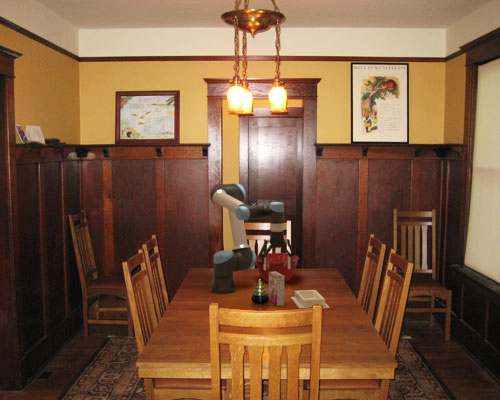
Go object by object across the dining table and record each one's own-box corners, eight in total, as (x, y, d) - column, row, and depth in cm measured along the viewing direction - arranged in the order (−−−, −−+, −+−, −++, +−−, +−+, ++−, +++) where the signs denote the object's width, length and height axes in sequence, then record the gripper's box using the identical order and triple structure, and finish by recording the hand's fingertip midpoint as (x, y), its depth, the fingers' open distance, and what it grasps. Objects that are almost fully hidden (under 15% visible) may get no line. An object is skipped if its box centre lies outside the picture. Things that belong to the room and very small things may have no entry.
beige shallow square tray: (300, 309, 246) (300, 301, 246) (290, 297, 266) (290, 290, 265) (329, 308, 249) (329, 299, 248) (317, 296, 269) (317, 288, 268)
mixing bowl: (248, 284, 292) (248, 260, 290) (261, 273, 319) (261, 251, 317) (292, 288, 283) (292, 264, 281) (302, 276, 310) (302, 254, 308)
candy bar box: (268, 300, 261) (268, 271, 260) (276, 299, 263) (276, 271, 262) (276, 306, 251) (276, 276, 249) (284, 305, 253) (285, 276, 251)
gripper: (255, 232, 247) (255, 271, 249) (301, 231, 251) (300, 269, 253) (253, 230, 254) (253, 268, 256) (297, 228, 259) (297, 266, 261)
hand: (276, 269), depth 255 cm, fingers open, 13 cm apart
